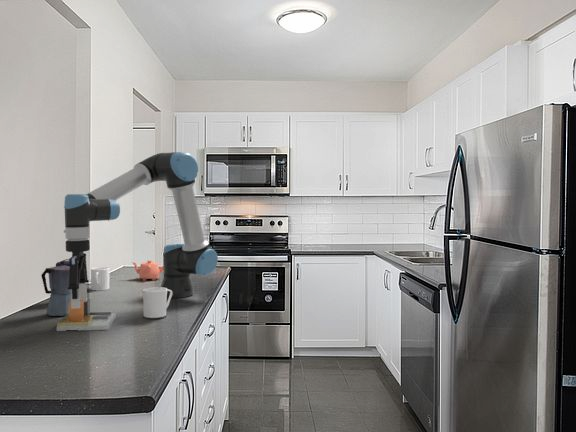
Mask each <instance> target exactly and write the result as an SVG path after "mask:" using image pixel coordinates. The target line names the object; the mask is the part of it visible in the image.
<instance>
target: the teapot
mask: <svg viewBox="0 0 576 432" xmlns="http://www.w3.org/2000/svg"><path fill="white" fill-rule="evenodd" d="M152 261H153V260H147V261H145V262H141V263H140V267H138V264H137V262H133V261H131V262H130V263H131V264H133V265H134V270H135V272H136V273H137V274H138V276H139V279H140V280H141V279H142V282H145V281H147V279H151V281H157V279H159V278H160V273H163V266H161V267H160V268H159V264H158V262H157V261H154V262H152Z"/></svg>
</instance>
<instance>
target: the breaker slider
mask: <svg viewBox="0 0 576 432" xmlns="http://www.w3.org/2000/svg"><path fill="white" fill-rule="evenodd" d="M90 312H91V299H90V298H87V302H84V315H90Z"/></svg>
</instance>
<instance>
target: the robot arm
mask: <svg viewBox="0 0 576 432" xmlns="http://www.w3.org/2000/svg"><path fill="white" fill-rule="evenodd" d="M198 164H199V163H198V162H197V160H196V158H195V157H194V156H193V155H191V154H190V153H188V152H183V151H182V152H181V151H176V152H160V153H159V152H158V153H155V154H153V155H151V156H149V157H147V158H145V159H144V160H141V161H140V162H137V163H136V164H135V165H134V166H133V168H132V169H130V170H129V171H127V172H124V173H122V174H121V175H119V176H117V177H116V178H114V179H112V180H110V181H108V182H106V183H103V185H101V186H99V187H97V188H95V189H93V190H92V191H90V192H88V193H86V194H84V193H81V194H78V193H75V194H74V193H71V194H70V193H68V194H66V195H65V197H64V205H63V209H64V225H65V227H64V230H63V233H65V239H66V241H65V251H66V252H68V253H72V254H71V257H69V260H68V261H69V263H70V270H69V287H68V289H71V309H77V308H80V300H81V301H84V302H87V299H88V296H87V295H88V294H87V284H88V283H89V279H88V267H87V253H84V252H88V251H90V240H89V239H90V222H96V221H97V222H99V221H100V222H101V221H107V222H109V221H114V220H117V219H118V218H119V216H120V214H121V205H120V204H119V201H118V200H120V199H121V198H122V197H125V196H126V195H128V194H129V193H132V192H133V191H135V190H136V189H138V188H140V187H142V186H149V185H150V184H153V183H155V182H161V181H163V182H165V183H166V188H167V189H169V190H170V191H171V193H172V197H173V200H174V205H175V209H176V213H177V216H178V222H179V225H180V230H181V235H182V238H183V243H177V244H175V243H174V244H167V245H165V246H164V248H163V253H162V256H163V258H162V259H163V271H162V273H163V274H162V275H163V276H162V278H163V279H162V282H161V284H160V287H164V288H167V289H169V290H171V291H172V297H171V299H172V298H174V299H178V298H179V299H180V298H187V296H188V297H192V296H194V294H195V293H194V287H193V283H192V280H191V276H190V275H196V276H199V277H200V276H209V275H211V274H212V273H213V272H214V271H215V269H216V267H217V265H218V261H219V260H218V259H219V257H218V254H217V253H218V252H217V251H216V250H214V249H213V248H211V247H210V242H209V241H208V240H207V239H205V236H204V231H203V227H202V223H201V219H200V214H199V209H198V206H197V205H198V204H197V200H196V196H195V192H194V185H195V184H196V178H197V176H198V173H199V165H198ZM73 284H75V285H73ZM191 295H192V296H191ZM169 296H170V291H167V298H168V299H169Z"/></svg>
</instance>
